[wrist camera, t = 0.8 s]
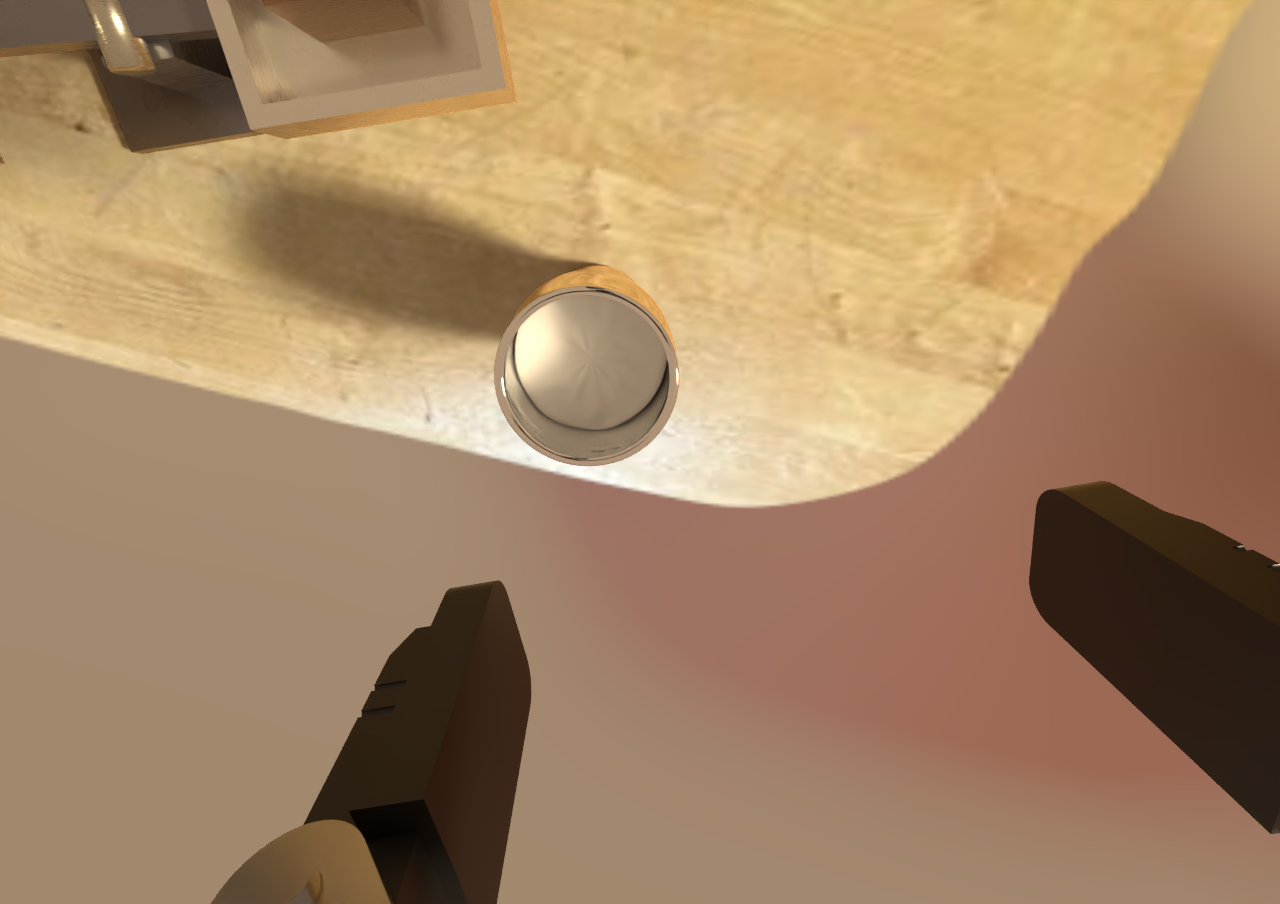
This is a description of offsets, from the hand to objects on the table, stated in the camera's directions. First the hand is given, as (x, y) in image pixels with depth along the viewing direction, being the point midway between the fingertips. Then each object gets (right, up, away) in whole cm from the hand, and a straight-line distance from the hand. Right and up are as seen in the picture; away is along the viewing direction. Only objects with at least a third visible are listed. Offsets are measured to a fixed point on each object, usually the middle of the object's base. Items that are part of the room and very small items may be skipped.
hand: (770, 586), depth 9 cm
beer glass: (-4, +10, +26) cm, 28 cm away
